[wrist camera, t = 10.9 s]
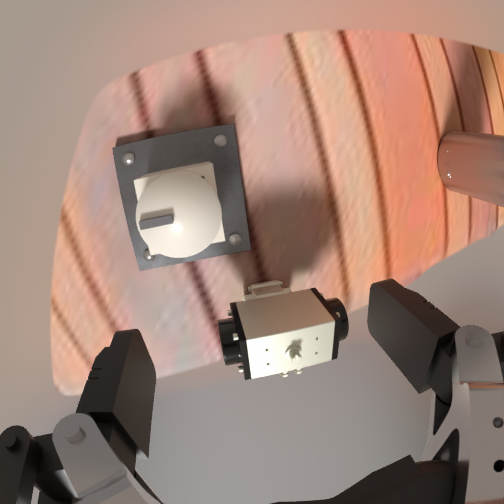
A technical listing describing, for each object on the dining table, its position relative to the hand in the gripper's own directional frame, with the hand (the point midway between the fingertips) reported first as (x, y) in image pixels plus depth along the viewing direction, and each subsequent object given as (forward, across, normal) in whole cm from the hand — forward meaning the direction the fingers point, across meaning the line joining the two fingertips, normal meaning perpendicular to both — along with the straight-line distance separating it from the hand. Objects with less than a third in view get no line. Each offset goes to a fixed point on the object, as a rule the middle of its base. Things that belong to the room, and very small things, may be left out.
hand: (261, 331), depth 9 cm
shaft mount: (+21, +4, -2) cm, 22 cm away
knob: (+20, +4, -2) cm, 21 cm away
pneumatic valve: (+22, -3, +11) cm, 25 cm away
